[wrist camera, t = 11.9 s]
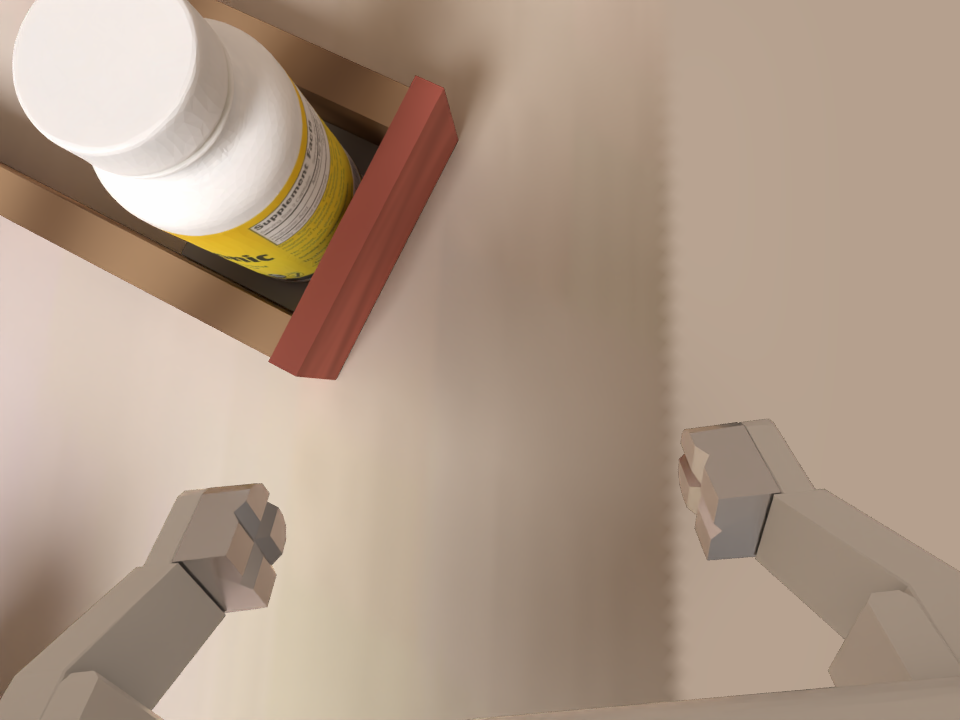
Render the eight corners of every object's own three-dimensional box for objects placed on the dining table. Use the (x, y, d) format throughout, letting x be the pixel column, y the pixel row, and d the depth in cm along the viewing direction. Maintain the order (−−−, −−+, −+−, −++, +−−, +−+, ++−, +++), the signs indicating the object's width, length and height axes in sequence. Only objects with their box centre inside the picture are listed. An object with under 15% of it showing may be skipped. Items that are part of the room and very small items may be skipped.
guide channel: (458, 140, 21) (443, 88, 17) (335, 380, 20) (296, 376, 17) (38, -52, 23) (-51, -133, 19) (-78, 163, 23) (-188, 121, 19)
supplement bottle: (205, 231, 21) (-75, 85, 11) (291, 117, 21) (87, -127, 11) (313, 315, 20) (117, 238, 11) (403, 198, 20) (288, 14, 11)
